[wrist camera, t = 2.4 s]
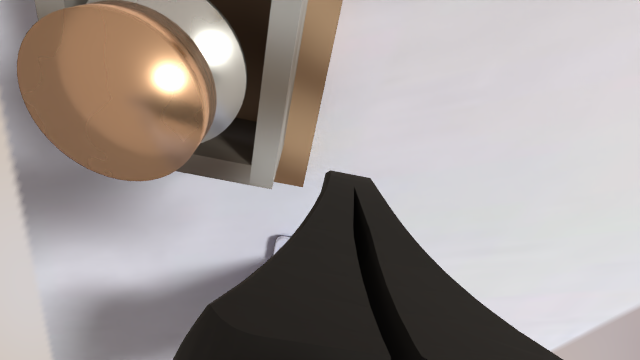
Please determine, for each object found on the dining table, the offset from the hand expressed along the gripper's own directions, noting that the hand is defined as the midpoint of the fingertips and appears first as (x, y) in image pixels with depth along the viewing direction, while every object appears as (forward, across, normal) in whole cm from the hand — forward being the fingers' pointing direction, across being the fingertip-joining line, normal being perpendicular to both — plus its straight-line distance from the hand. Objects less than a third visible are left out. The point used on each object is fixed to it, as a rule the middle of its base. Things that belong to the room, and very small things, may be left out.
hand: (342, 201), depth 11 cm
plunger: (+4, +7, -1) cm, 8 cm away
